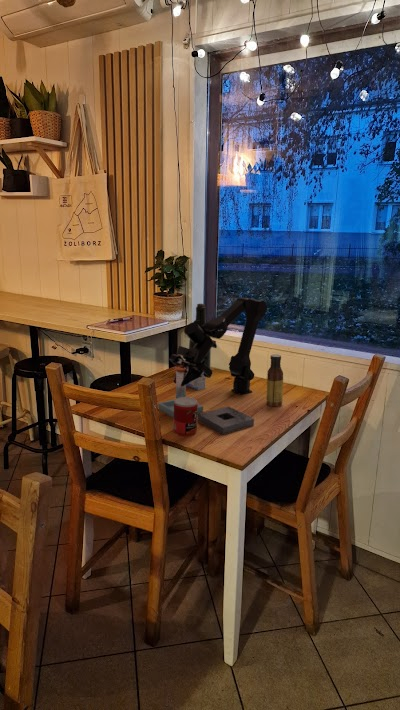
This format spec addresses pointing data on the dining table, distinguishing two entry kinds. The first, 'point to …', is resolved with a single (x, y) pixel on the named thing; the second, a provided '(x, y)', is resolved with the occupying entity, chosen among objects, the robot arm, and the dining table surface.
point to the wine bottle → (201, 318)
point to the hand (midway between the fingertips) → (178, 384)
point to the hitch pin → (180, 380)
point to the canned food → (185, 416)
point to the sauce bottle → (275, 382)
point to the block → (219, 422)
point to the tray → (169, 408)
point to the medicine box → (197, 382)
